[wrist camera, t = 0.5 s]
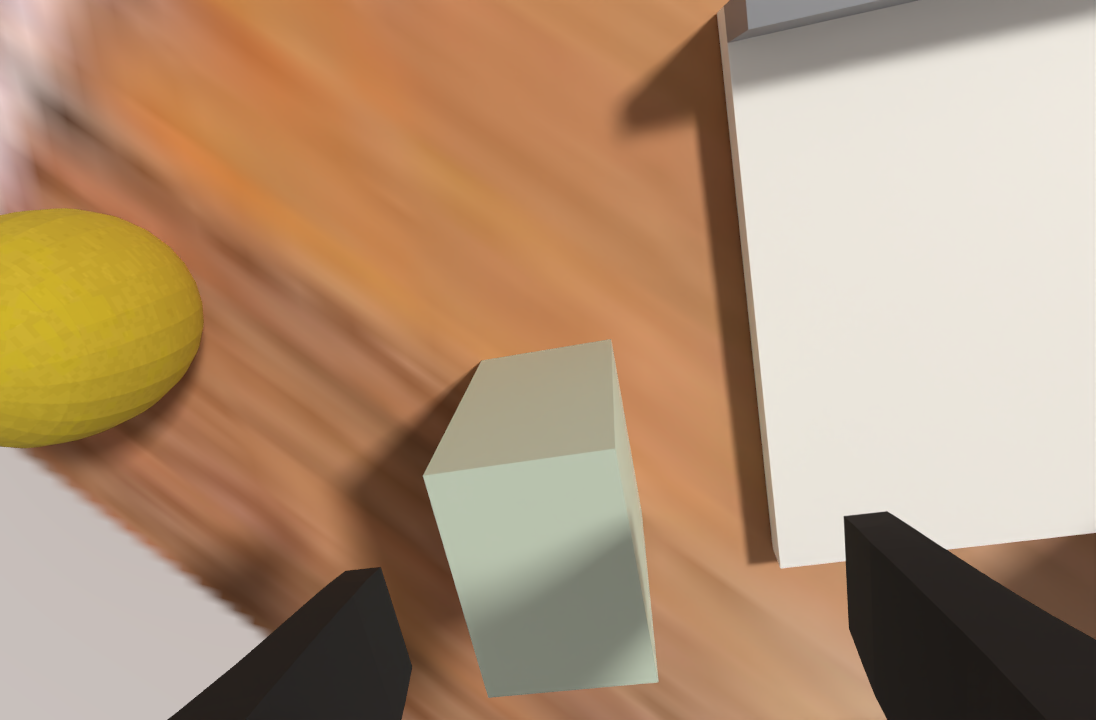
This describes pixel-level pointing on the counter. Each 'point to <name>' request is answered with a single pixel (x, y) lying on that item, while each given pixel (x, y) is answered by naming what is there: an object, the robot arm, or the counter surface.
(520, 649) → the carton
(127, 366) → the lemon
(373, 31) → the counter surface
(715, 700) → the counter surface
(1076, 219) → the shelf board
